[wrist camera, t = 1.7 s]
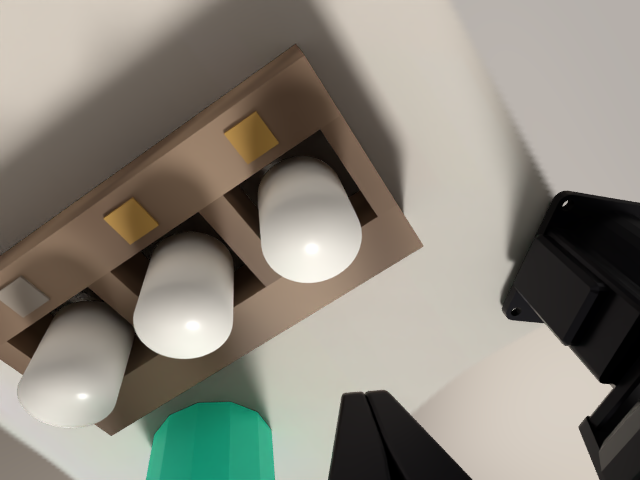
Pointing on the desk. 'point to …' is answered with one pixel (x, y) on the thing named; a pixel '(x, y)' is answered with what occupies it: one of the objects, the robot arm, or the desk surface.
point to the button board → (219, 211)
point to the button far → (77, 366)
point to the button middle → (186, 297)
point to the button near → (306, 221)
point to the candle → (212, 445)
